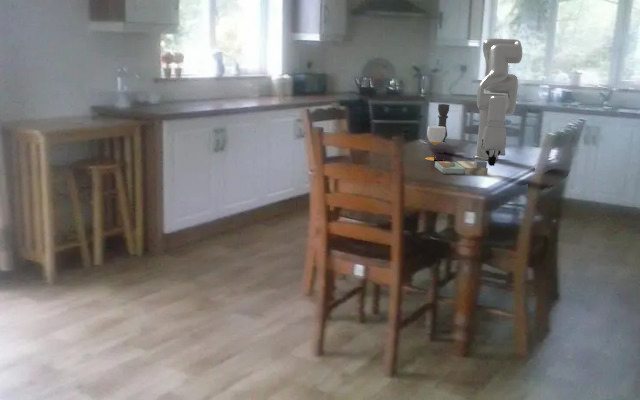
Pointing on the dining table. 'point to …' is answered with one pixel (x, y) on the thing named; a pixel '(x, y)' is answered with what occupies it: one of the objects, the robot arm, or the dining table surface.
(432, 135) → the cup
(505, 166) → the dining table surface
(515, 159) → the dining table surface
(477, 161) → the slate tile
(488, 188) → the dining table surface
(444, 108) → the candle holder
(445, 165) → the terracotta tile
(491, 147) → the robot arm
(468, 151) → the dining table surface
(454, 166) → the box
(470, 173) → the birch platform
